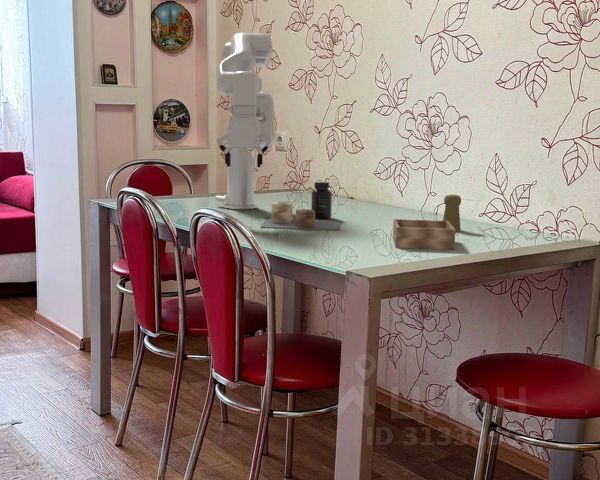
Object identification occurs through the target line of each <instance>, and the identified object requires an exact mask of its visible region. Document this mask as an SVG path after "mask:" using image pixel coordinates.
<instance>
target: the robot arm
mask: <svg viewBox="0 0 600 480" xmlns="http://www.w3.org/2000/svg"><path fill="white" fill-rule="evenodd" d="M272 56H273V41H272V39H271V37H270V36H269V35H268V34H266V33H262V32H261V33H259V32H238V33H236V34H234V35H233V36H232V37H231V39H230V42H227V43H225V44H224V45H223V47H222V49H221V57H222V61H221V62H220V63H219V65H218V67H217V71H216V89H217V91H218V93H219V94H220V95H222V96H226V97H227V96H228V97H229V98H228V99H229V102H228V103H229V107H227V113H230V116H229V118H228V122H227V123H226V124H225V129H224V131H225V135H223V136H221V137H219V138H217V139H216V144H217V145H218V147H219V149H220V150H221V151H222V152H223V153H224V164H225V165H226V167H227V193H226V194H224V195H215V197H214V198H215V202H224V203H223V204H222V208H225V209H228V208H229V210H255V209H258V207H259V205H258V203H255V202H254V201H255V200H254V199H255V191H254V190H255V158H254V155H253V154H252V153H251V152H250V150H249V149H255V151H257V155H256V167H257V168H261V166H262V165H263V159H264V158H263V155H264V153H265V152H267V150H268V149H269V148H270V146H272V145H273V143H274V141H275V131H276V130H275V105H274V104H275V103H274V99H273V96H272V94H270V93H269V92H265V91H262V85H263V84H262V77H260V75H259V74H257V72H253V71H252V70H253V69H254V68H255V67H263V68H264V67H267V66H269V64H270V62H271V59H272ZM223 141H226V146H225V145H224V144H223ZM254 208H255V209H254Z"/></svg>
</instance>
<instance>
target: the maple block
mask: <svg viewBox="0 0 600 480" xmlns="http://www.w3.org/2000/svg"><path fill="white" fill-rule="evenodd" d="M271 219H272V223H291V222H292V220H293V201H276V200H275V201H273V202H272V203H271Z"/></svg>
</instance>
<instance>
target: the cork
mask: <svg viewBox="0 0 600 480" xmlns="http://www.w3.org/2000/svg"><path fill="white" fill-rule="evenodd" d="M443 203H444V204H445V206H444V212H443V217H442V221H449V222H450V224H451V225H452V226H453V227H454V228H455V233H456V232H461V230H462V229H461V219H460V218H461V217H460V216H461V215H460V205H461V203H462V198H461V196H460V195H458V194H447V195H445V196H444V199H443Z"/></svg>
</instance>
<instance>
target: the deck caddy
mask: <svg viewBox="0 0 600 480" xmlns="http://www.w3.org/2000/svg"><path fill="white" fill-rule="evenodd" d="M392 225H393V227H392V239H393V244H394V247H395V249H415V248H416V249H418V250H419V249H420V250H422V249H423V250H444V249H446V251H447V249H448V251H453V250H454V251H455V241H456V232H455V228H454V227H453V226H452V225H451V224H450V222H449V221H443V220H433V219H432V220H430V219H429V220H428V219H403V218H402V219H401V218H400V219H399V218H398V219H397V218H396V219H395V218H393V223H392Z"/></svg>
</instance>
